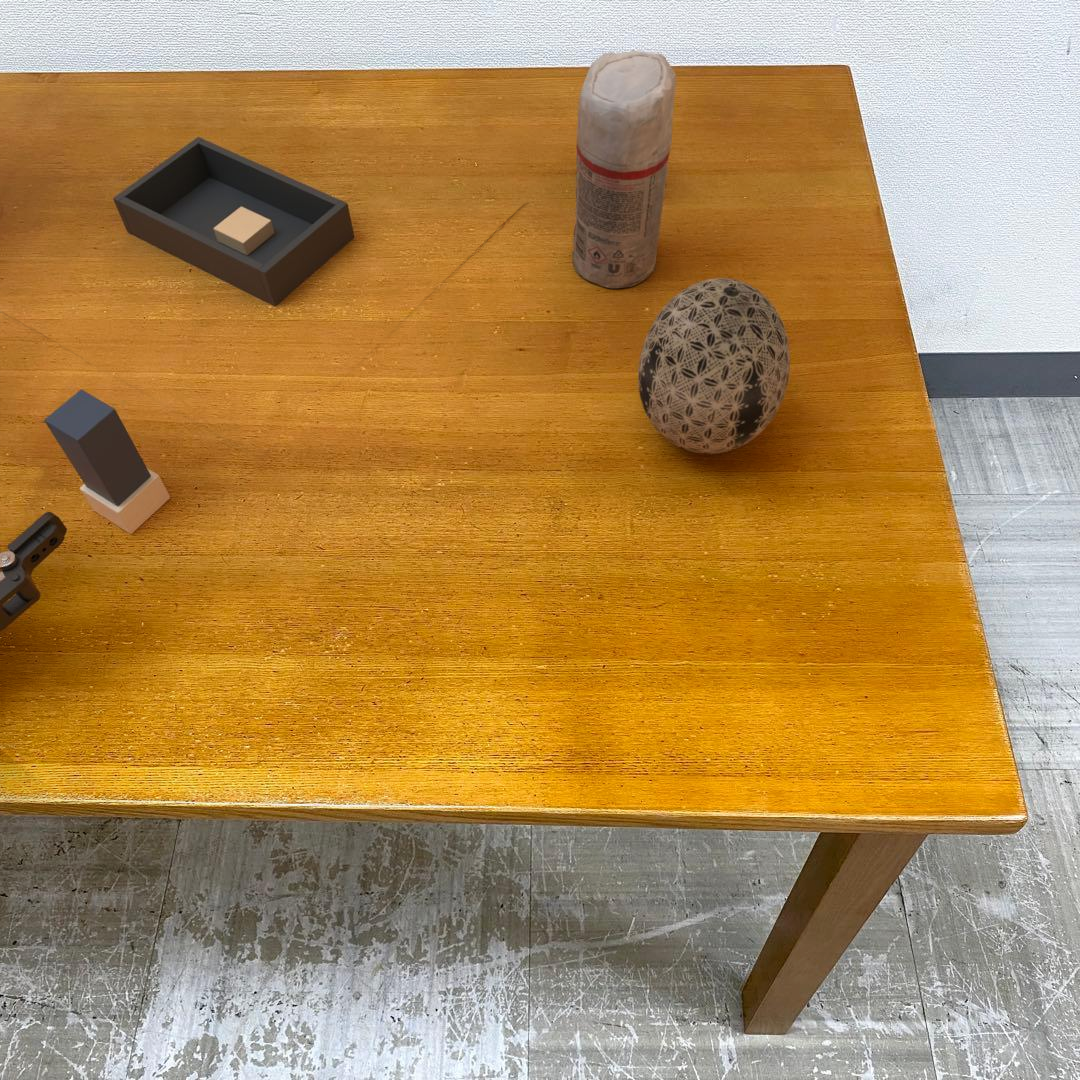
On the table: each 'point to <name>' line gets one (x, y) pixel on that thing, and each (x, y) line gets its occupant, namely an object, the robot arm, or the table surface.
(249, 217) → the beige square block
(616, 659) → the table surface
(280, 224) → the bin
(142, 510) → the two-tone block stamp
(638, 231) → the spray can
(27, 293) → the table surface
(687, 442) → the decorative egg
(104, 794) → the table surface
